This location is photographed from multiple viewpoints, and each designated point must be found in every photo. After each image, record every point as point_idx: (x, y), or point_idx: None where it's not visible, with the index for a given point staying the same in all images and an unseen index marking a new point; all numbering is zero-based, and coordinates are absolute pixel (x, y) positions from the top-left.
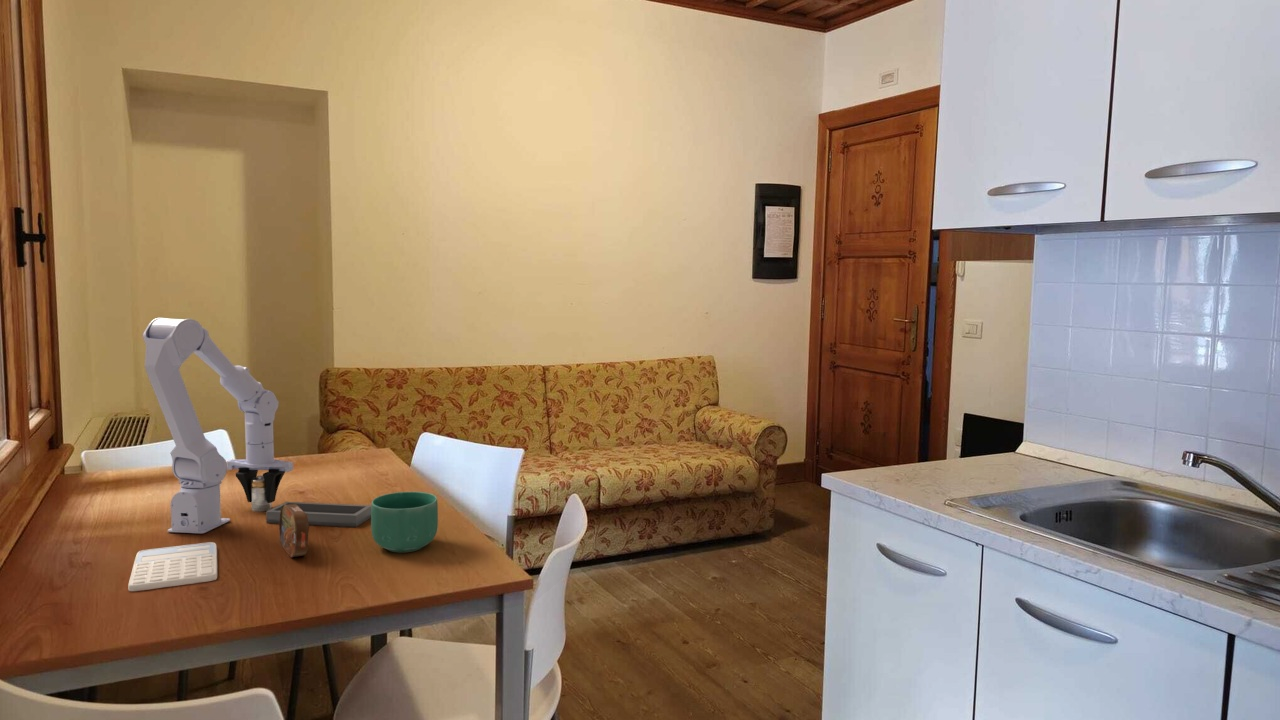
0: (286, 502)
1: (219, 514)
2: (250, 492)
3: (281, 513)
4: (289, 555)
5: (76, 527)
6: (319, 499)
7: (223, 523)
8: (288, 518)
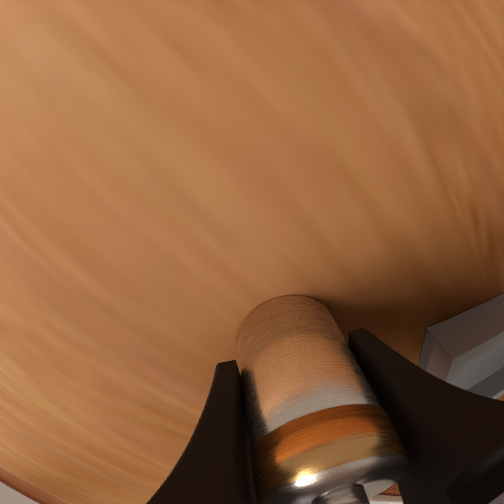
0: (457, 364)
1: None
2: (248, 436)
3: None
4: None
5: (35, 490)
6: (458, 70)
7: None
8: None
